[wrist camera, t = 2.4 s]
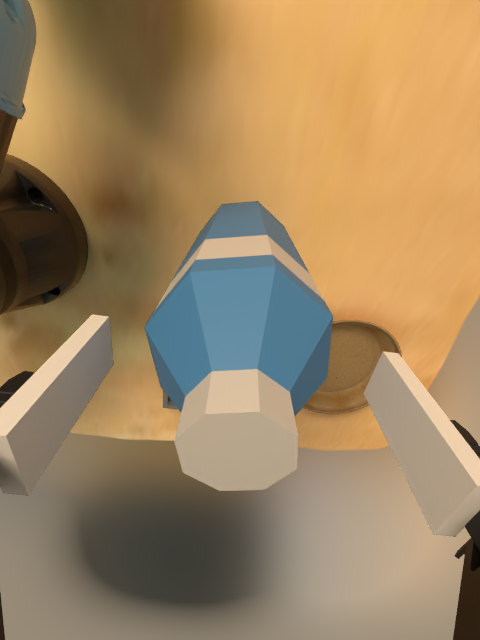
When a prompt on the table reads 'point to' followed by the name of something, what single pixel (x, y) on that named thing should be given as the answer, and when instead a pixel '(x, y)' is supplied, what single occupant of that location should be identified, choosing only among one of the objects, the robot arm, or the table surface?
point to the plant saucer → (351, 365)
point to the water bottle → (240, 349)
